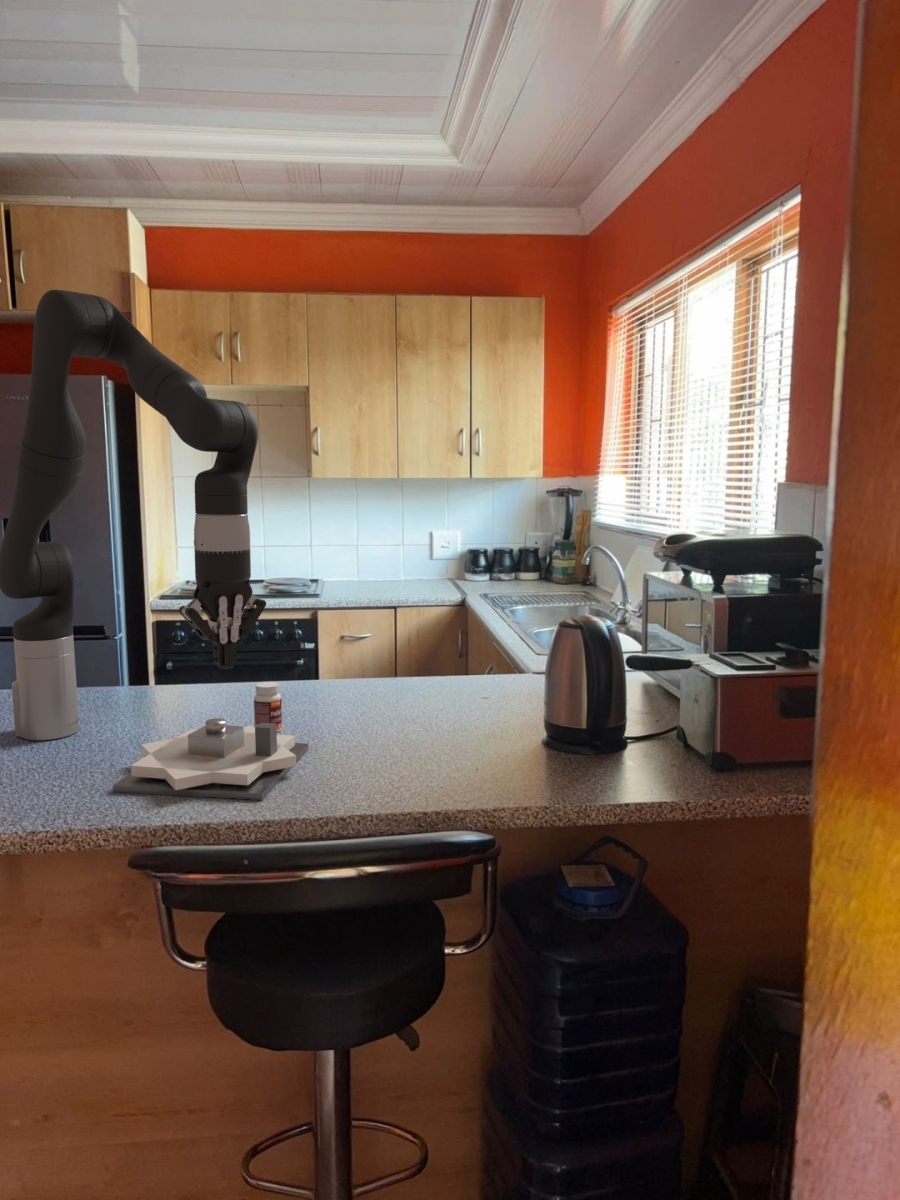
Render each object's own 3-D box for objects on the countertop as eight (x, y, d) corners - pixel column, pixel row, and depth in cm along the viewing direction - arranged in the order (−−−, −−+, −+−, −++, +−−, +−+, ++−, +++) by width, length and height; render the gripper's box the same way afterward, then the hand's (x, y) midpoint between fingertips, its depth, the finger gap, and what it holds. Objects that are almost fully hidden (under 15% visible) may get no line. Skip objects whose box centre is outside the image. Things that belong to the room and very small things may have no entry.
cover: (224, 757, 124) (223, 728, 123) (188, 754, 125) (187, 725, 125) (244, 745, 130) (243, 717, 129) (209, 741, 131) (208, 714, 131)
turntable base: (113, 792, 119) (112, 785, 118) (181, 743, 140) (181, 737, 140) (262, 800, 116) (261, 793, 116) (308, 749, 137) (308, 743, 137)
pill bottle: (275, 735, 145) (274, 688, 144) (250, 733, 146) (248, 686, 144) (286, 727, 149) (285, 681, 148) (261, 725, 150) (260, 680, 149)
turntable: (92, 783, 118) (90, 742, 117) (182, 730, 143) (181, 695, 142) (261, 797, 113) (260, 755, 112) (324, 739, 138) (323, 704, 137)
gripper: (192, 551, 109) (196, 680, 111) (278, 546, 118) (279, 665, 121) (164, 546, 114) (169, 670, 117) (249, 542, 123) (251, 656, 126)
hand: (225, 667), depth 119 cm, fingers closed
